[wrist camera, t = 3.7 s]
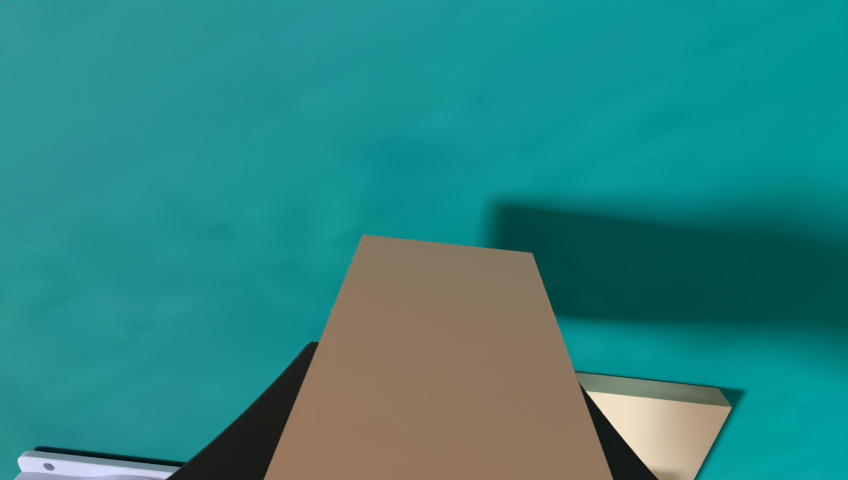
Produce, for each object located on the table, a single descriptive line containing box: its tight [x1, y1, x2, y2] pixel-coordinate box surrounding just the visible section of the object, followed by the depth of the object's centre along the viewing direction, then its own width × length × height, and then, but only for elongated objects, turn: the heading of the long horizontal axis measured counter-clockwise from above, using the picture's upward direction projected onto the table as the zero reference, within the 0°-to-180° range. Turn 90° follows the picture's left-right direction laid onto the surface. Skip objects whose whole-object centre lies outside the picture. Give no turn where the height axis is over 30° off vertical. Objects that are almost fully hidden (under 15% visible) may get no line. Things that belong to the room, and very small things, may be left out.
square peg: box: [264, 235, 613, 480], centre depth 9 cm, size 4×4×8 cm
